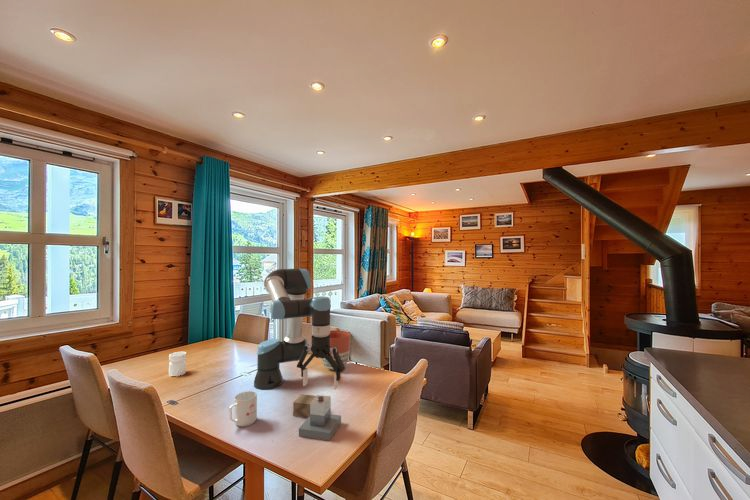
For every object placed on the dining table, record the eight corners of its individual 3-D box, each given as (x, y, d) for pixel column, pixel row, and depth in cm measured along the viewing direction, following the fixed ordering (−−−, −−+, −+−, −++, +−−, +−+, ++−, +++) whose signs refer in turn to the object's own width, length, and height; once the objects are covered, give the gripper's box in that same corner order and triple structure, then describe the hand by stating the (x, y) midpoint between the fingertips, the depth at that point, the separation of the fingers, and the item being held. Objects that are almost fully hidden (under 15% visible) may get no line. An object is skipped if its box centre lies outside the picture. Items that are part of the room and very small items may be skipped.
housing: (310, 425, 122) (310, 400, 122) (317, 416, 129) (317, 393, 129) (324, 427, 121) (324, 402, 121) (330, 418, 128) (330, 394, 128)
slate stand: (298, 436, 120) (298, 428, 120) (312, 419, 132) (312, 412, 132) (329, 440, 117) (329, 432, 117) (341, 422, 129) (341, 415, 130)
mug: (248, 414, 136) (248, 389, 136) (261, 420, 132) (261, 394, 132) (222, 427, 126) (223, 400, 126) (236, 433, 121) (236, 405, 122)
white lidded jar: (169, 378, 177) (170, 357, 177) (167, 373, 183) (167, 353, 184) (187, 374, 183) (187, 354, 183) (184, 370, 189) (184, 350, 189)
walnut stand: (293, 415, 135) (293, 402, 135) (301, 407, 143) (301, 394, 143) (309, 418, 133) (310, 404, 133) (317, 408, 141) (317, 395, 141)
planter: (356, 366, 195) (356, 332, 195) (337, 376, 179) (337, 340, 179) (333, 360, 205) (333, 328, 206) (312, 370, 189) (312, 335, 189)
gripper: (288, 335, 124) (288, 387, 124) (346, 339, 119) (346, 393, 119) (297, 330, 132) (297, 379, 132) (352, 334, 126) (352, 385, 126)
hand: (320, 386), depth 125 cm, fingers open, 13 cm apart
